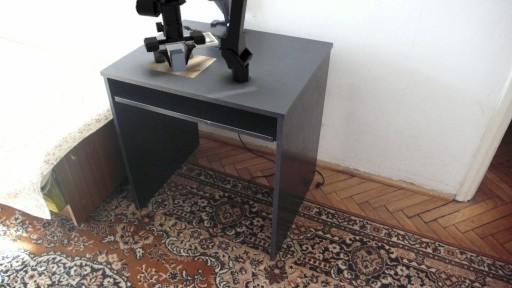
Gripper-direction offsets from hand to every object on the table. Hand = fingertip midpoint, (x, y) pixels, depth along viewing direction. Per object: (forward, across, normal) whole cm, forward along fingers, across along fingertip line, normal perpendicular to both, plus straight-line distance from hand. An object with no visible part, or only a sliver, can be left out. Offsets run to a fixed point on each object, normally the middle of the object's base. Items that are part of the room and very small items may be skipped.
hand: (178, 66), depth 117 cm
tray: (+2, -13, -21) cm, 24 cm away
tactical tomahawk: (+3, -18, -34) cm, 39 cm away
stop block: (+1, 0, 0) cm, 1 cm away
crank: (+1, 0, -8) cm, 8 cm away
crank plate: (+2, -2, -4) cm, 5 cm away
